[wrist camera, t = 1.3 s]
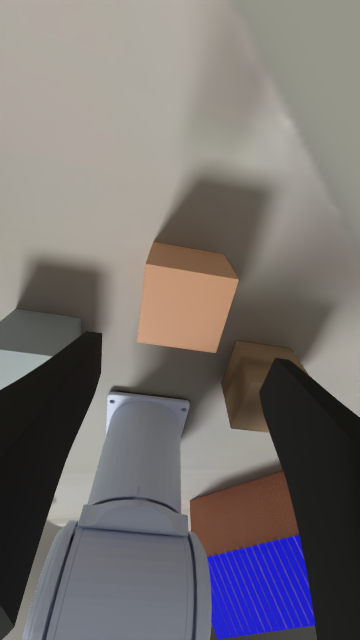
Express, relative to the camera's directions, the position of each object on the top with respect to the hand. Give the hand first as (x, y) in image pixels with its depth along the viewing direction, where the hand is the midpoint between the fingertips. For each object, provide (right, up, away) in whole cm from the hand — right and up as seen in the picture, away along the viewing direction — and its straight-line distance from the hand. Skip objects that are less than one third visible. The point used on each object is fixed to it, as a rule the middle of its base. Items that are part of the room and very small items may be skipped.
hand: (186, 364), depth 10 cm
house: (+12, -23, +25) cm, 36 cm away
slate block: (-11, 0, +11) cm, 15 cm away
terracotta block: (0, +5, +8) cm, 10 cm away
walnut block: (+7, -2, +13) cm, 14 cm away
